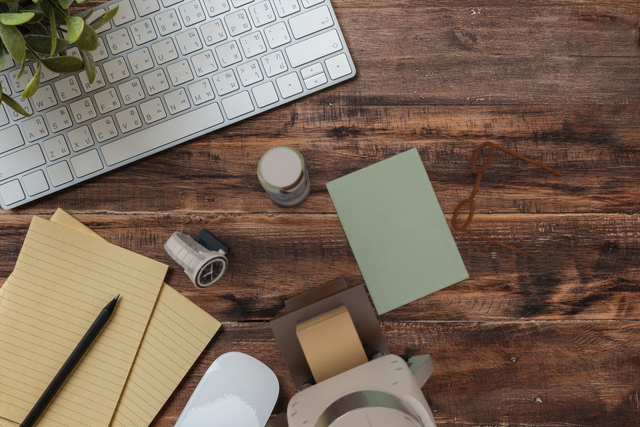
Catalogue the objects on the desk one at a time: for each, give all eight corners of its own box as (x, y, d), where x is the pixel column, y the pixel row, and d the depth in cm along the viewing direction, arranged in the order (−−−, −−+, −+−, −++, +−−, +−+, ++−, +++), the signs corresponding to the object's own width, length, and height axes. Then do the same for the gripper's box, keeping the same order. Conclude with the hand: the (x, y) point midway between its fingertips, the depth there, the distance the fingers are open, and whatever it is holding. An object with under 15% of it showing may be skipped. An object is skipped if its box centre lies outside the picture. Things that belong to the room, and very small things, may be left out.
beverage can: (284, 217, 67) (280, 215, 55) (253, 175, 68) (243, 163, 56) (320, 191, 68) (324, 183, 56) (289, 149, 68) (287, 132, 56)
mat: (468, 277, 68) (469, 277, 68) (378, 314, 68) (378, 315, 67) (415, 147, 69) (416, 147, 68) (325, 183, 68) (325, 183, 68)
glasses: (476, 143, 69) (490, 136, 64) (560, 173, 69) (580, 169, 64) (447, 229, 68) (458, 229, 63) (532, 259, 69) (550, 262, 64)
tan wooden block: (388, 415, 47) (399, 437, 42) (342, 435, 47) (347, 460, 42) (343, 302, 47) (348, 310, 42) (296, 322, 47) (295, 332, 42)
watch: (217, 287, 67) (201, 299, 56) (171, 252, 67) (146, 256, 56) (242, 256, 67) (231, 261, 56) (197, 220, 67) (177, 218, 56)
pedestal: (381, 360, 67) (415, 414, 47) (315, 388, 67) (322, 455, 47) (343, 267, 68) (362, 283, 48) (277, 294, 67) (268, 322, 47)
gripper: (261, 576, 28) (276, 440, 46) (523, 459, 29) (437, 371, 47) (213, 456, 28) (247, 368, 46) (476, 344, 29) (408, 300, 47)
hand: (343, 370), depth 47 cm, fingers closed on tan wooden block, 5 cm apart
